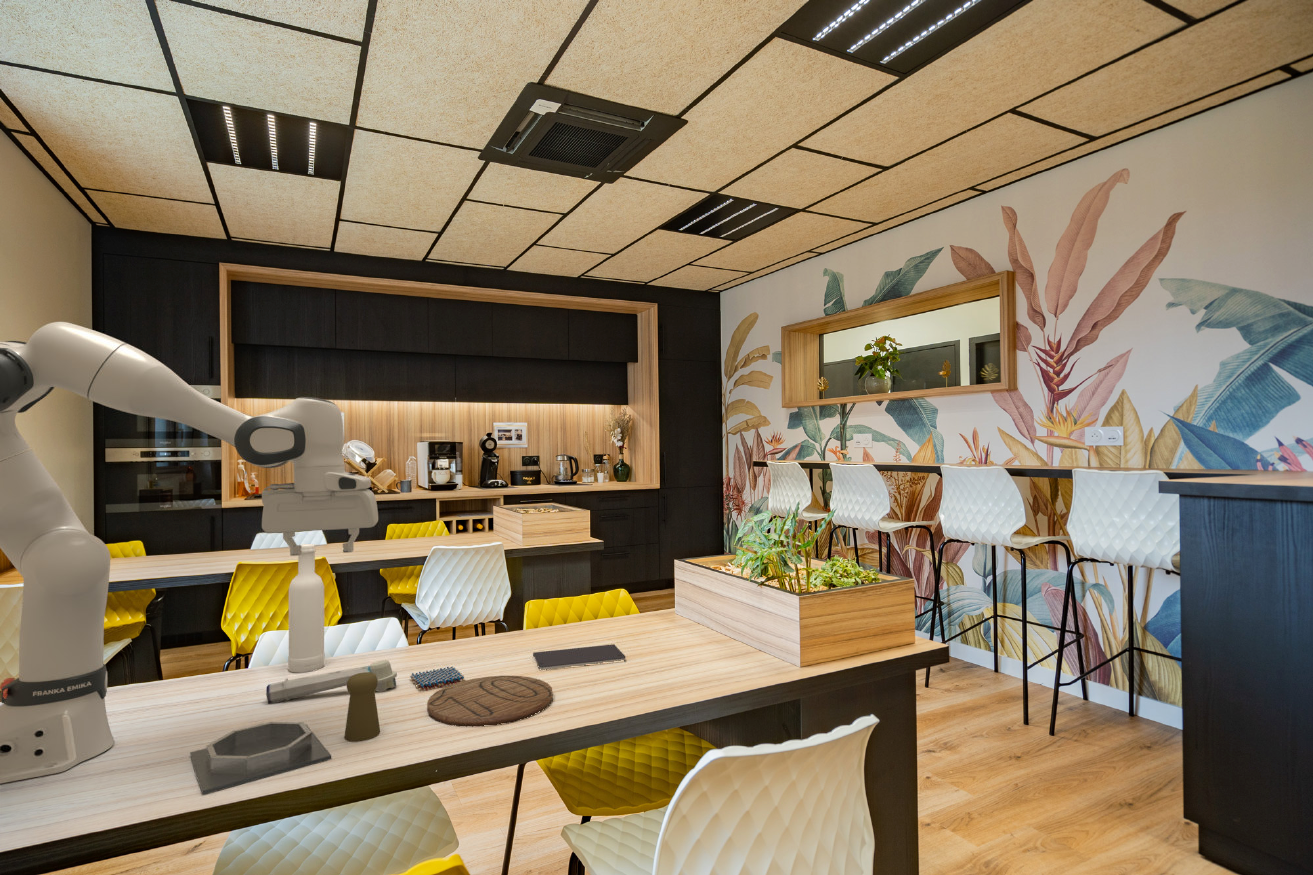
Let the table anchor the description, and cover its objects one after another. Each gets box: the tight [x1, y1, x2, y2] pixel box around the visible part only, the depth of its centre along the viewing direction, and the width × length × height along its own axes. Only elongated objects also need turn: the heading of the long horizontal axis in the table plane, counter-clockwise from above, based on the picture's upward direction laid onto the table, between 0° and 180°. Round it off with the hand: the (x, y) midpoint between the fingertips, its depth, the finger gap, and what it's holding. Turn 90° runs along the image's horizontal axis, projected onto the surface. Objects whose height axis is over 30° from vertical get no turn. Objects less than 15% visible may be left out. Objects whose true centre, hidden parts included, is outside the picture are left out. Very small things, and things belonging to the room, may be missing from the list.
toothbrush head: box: [265, 659, 398, 704], centre depth 144 cm, size 5×7×25 cm
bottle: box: [287, 543, 326, 674], centre depth 164 cm, size 8×8×30 cm
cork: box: [343, 672, 381, 743], centre depth 122 cm, size 6×6×11 cm
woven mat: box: [409, 666, 466, 692], centre depth 151 cm, size 10×11×2 cm
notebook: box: [532, 643, 626, 671], centre depth 166 cm, size 13×2×21 cm
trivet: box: [426, 675, 553, 728], centre depth 137 cm, size 25×25×2 cm
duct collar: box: [189, 721, 332, 796], centre depth 113 cm, size 18×18×3 cm
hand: (322, 553), depth 128 cm, fingers open, 8 cm apart
